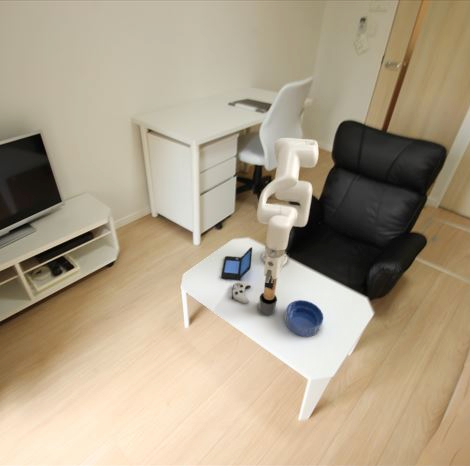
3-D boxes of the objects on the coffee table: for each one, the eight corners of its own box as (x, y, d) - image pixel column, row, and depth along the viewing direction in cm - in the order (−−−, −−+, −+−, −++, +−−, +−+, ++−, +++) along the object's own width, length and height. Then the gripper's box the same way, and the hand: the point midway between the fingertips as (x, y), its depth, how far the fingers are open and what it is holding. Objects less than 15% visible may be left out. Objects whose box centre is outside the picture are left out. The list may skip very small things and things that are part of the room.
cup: (261, 301, 137) (263, 289, 133) (277, 306, 134) (279, 295, 130) (256, 312, 132) (257, 301, 128) (272, 318, 129) (274, 307, 125)
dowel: (265, 290, 131) (268, 269, 124) (275, 294, 130) (279, 273, 122) (261, 297, 128) (264, 276, 121) (272, 301, 126) (275, 280, 119)
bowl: (289, 304, 135) (291, 295, 132) (323, 316, 130) (326, 307, 126) (280, 329, 125) (282, 320, 122) (316, 343, 120) (319, 334, 117)
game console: (224, 257, 160) (225, 243, 155) (251, 260, 158) (252, 246, 153) (220, 279, 148) (220, 264, 142) (249, 282, 146) (250, 267, 140)
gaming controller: (249, 303, 134) (238, 294, 132) (238, 309, 138) (228, 299, 136) (252, 285, 143) (241, 275, 141) (241, 290, 146) (231, 281, 144)
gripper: (279, 265, 106) (273, 301, 117) (292, 237, 118) (286, 272, 129) (258, 258, 109) (254, 294, 120) (273, 232, 120) (268, 266, 132)
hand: (270, 282), depth 124 cm, fingers closed on dowel, 4 cm apart
